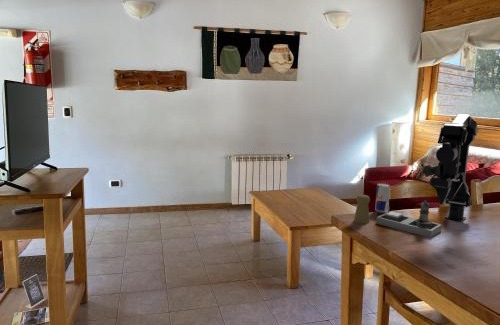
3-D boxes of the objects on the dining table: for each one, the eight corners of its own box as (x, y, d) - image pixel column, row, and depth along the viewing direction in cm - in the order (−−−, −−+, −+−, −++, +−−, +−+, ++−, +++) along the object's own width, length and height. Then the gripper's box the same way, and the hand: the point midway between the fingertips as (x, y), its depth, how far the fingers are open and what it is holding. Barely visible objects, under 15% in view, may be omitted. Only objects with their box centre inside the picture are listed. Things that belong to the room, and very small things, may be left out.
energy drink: (372, 210, 181) (374, 183, 179) (382, 209, 183) (384, 183, 181) (380, 214, 177) (382, 186, 174) (390, 212, 178) (392, 185, 176)
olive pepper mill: (372, 223, 164) (374, 196, 162) (359, 224, 162) (361, 197, 160) (363, 218, 170) (364, 192, 168) (350, 220, 168) (352, 194, 166)
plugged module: (390, 220, 167) (391, 211, 166) (402, 223, 164) (403, 213, 163) (384, 223, 164) (385, 213, 163) (397, 226, 160) (397, 216, 160)
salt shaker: (429, 228, 158) (432, 198, 156) (432, 233, 153) (435, 202, 150) (412, 227, 159) (415, 197, 157) (415, 232, 154) (418, 201, 152)
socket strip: (387, 218, 171) (388, 212, 170) (441, 231, 156) (441, 224, 156) (376, 223, 164) (376, 217, 163) (430, 237, 149) (431, 230, 149)
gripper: (437, 153, 158) (433, 193, 161) (416, 159, 145) (412, 202, 148) (468, 157, 151) (463, 198, 154) (449, 163, 138) (444, 208, 141)
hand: (445, 201), depth 149 cm, fingers open, 9 cm apart
